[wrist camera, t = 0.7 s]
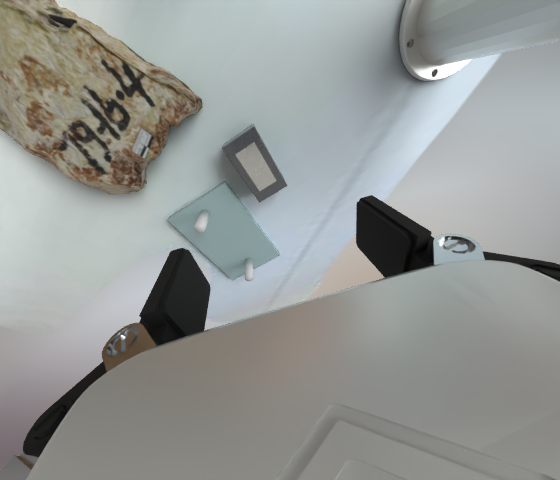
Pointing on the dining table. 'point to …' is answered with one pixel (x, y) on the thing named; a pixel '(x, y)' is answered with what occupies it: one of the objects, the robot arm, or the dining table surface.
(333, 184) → the dining table surface
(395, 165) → the dining table surface
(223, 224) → the grey-green peg board
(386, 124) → the dining table surface
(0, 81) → the stone
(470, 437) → the robot arm
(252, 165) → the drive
